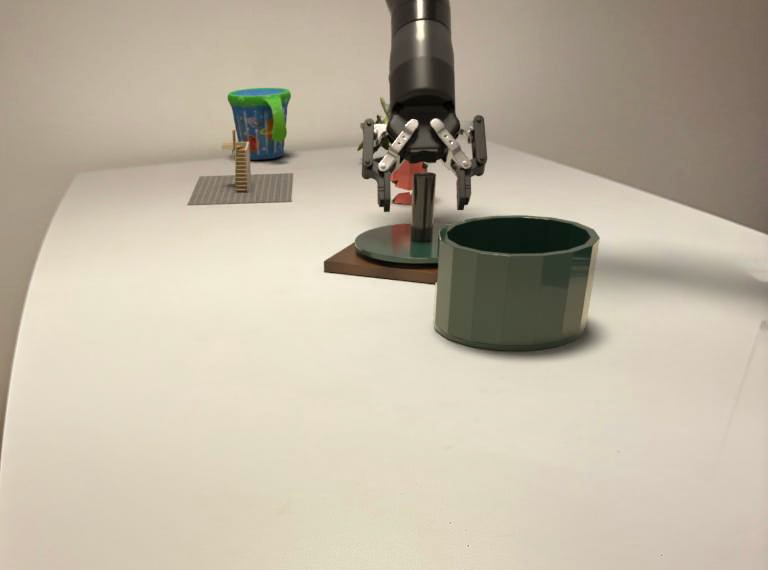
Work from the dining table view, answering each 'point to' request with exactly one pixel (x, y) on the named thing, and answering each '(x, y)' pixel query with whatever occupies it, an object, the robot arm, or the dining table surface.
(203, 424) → the dining table surface
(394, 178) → the cat figurine
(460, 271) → the pot
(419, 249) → the lid
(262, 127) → the snack cup
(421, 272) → the board
